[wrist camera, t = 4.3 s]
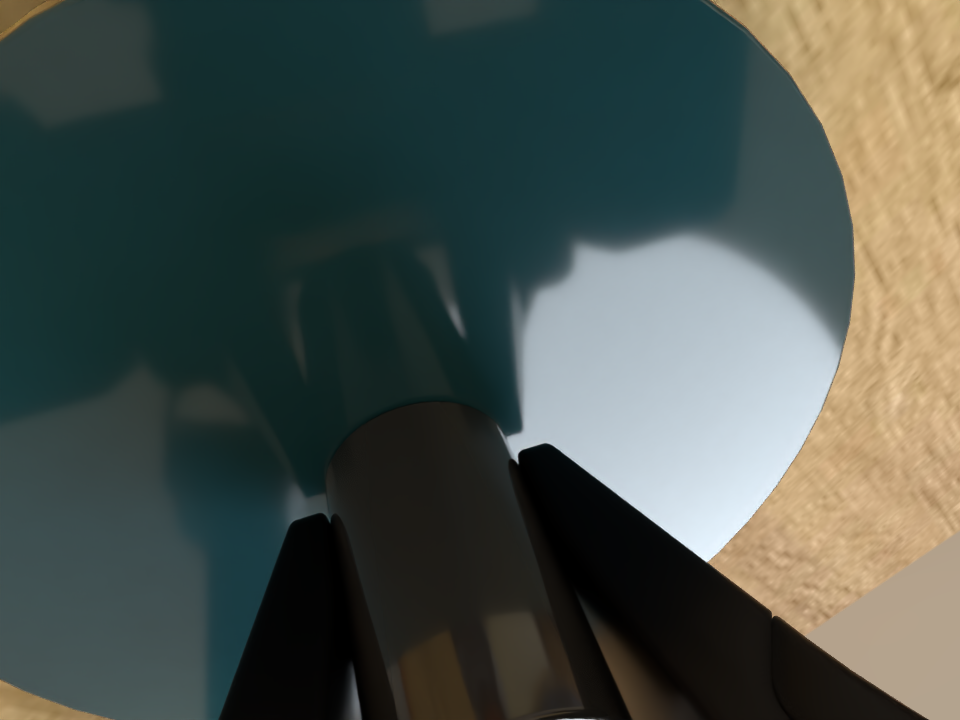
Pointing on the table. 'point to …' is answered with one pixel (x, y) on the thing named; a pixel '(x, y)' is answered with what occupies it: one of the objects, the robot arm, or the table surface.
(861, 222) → the table surface
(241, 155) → the pot lid
